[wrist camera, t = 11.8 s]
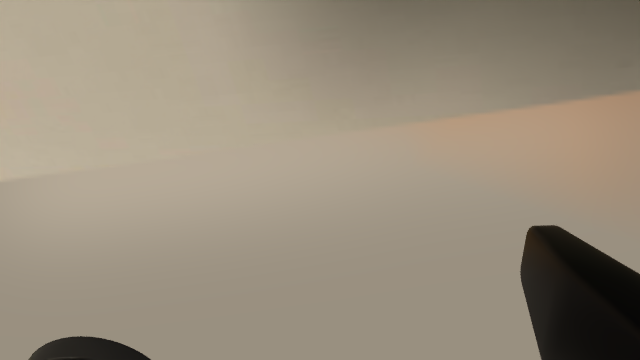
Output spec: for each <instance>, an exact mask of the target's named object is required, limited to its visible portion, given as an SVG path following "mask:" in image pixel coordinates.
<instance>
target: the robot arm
mask: <svg viewBox="0 0 640 360" xmlns="http://www.w3.org/2000/svg"><path fill="white" fill-rule="evenodd" d="M521 282H522V286H523V290H524V294H525V297H526V302H527V305H528V309H529V313H530V317H531V321H532V325H533V329H534V333H535V336H536V340H537V344H538V348H539V352H540V355H541V359H542V360H640V274H639V273H637V272H635V271H633V270H632V269H630V268H628V267H627V266H625V265H623V264H622V263H620V262H618V261H616V260H615V259H613V258H611V257H610V256H608V255H606V254H604V253H603V252H601V251H599V250H598V249H596V248H594V247H593V246H591V245H589V244H588V243H586V242H584V241H582V240H581V239H579V238H577V237H576V236H574V235H572V234H570V233H569V232H567V231H566V230H564V229H562V228H560V227H558V226H554V225H551V226H532V227H531V228H529V230H528V232H527V235H526V241H525V246H524V252H523V257H522V264H521Z"/></svg>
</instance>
